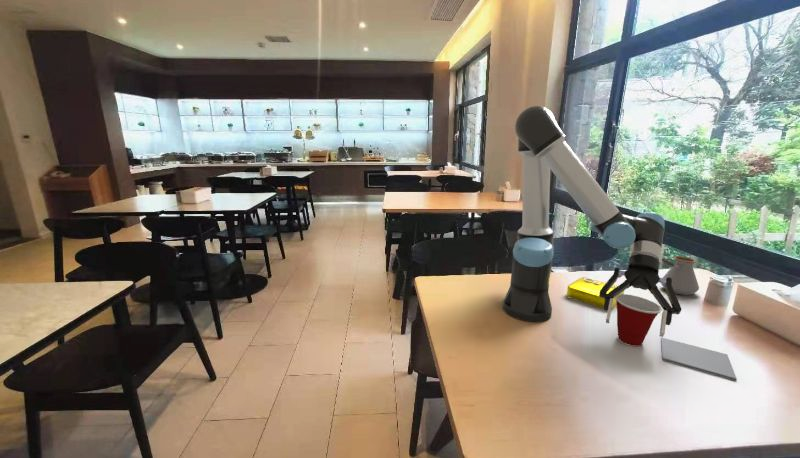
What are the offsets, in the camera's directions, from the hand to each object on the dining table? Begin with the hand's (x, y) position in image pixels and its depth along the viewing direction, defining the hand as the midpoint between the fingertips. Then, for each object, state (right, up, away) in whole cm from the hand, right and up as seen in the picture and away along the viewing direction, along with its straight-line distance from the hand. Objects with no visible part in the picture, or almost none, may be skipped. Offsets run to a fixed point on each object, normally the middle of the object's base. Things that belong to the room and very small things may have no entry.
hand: (633, 327), depth 95 cm
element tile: (+7, +2, +32) cm, 32 cm away
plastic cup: (+1, -5, +3) cm, 6 cm away
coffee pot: (+38, +3, +36) cm, 52 cm away
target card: (+13, -7, -4) cm, 15 cm away
